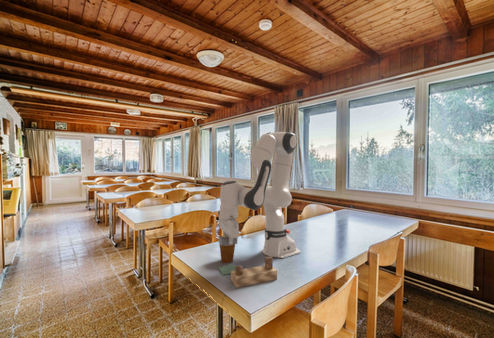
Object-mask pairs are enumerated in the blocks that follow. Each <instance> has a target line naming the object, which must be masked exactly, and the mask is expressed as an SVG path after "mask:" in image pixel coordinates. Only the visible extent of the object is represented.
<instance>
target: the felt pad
mask: <svg viewBox="0 0 494 338" xmlns="http://www.w3.org/2000/svg"><path fill="white" fill-rule="evenodd" d="M235 267H236V266H235V264H229V265H223V266H218V268H217V269H218V270H219V273H221V275H222V276H227V275H231V271H235Z"/></svg>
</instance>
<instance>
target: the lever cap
mask: <svg viewBox="0 0 494 338" xmlns="http://www.w3.org/2000/svg"><path fill="white" fill-rule="evenodd" d="M228 240H229V236H224V235H222V236H218V244H219V243H220V244H219V246H220V245H221V246H223V245H232V244H235V245H238V238H233V243H232V244H229V243H228Z"/></svg>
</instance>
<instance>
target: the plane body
mask: <svg viewBox="0 0 494 338" xmlns="http://www.w3.org/2000/svg"><path fill="white" fill-rule="evenodd" d="M273 263H274V260H273V257H271V256H265V257H264V265H259V266H253V267H247V268H243V265H236V266H235V271H231V274H230V278H229V282H230V283H231V285H232V286H233V287H234V288H235V289H236V288H240V287H241V288H242V287H247V286H251V285H255V284H256V285H257V284H259V283H265V282H270V281H274V280H278V270H277V269H276V268H275V267H274V266H273Z"/></svg>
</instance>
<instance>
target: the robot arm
mask: <svg viewBox="0 0 494 338" xmlns="http://www.w3.org/2000/svg"><path fill="white" fill-rule="evenodd" d="M297 145H298V138H297V135H296V134H295V133H293V132H291V131H287V132H286V131H277V132H266V133H263V134H262V135H261V136H260V138H259V139H258V140H257V142H256V144H255V146H254V147H253V149H252V152H251V154H250V162H251V164H252V165H253V166H254V167H255V168H256V169H257V174H256V177H255V178H256V179H255V181H254V184H253V186H252V187H247V186H246V187H245V186H244V185H241V184H240V183H238V182H237V181H236V180H228V181H225V182H223V183H221V186H220V193H219V196H220V197H219V201H220V207H219V210H218V211H217V215H218V225H219V228H220V230H221V231H222V232H223V236H229V240H228V243H229V244H232V243H233V238H237V239H239V237H240V228H239V227H240V225H239V221H238V220H237V219H238V217H239V215H238V214H239V206H242V207H244V208H248V209H249V210H251V211H257V210H259V209H260V208H261V207H263V210H264V214H265V228H264V244H263V248H262V254H264V255H265V256H266V257H269V256H271V257H272V258H273V257H274V258H278V259H284V258H288V257H292V256H294V255H295V256H296V255H298V254H299V255H300V253H301V251H300V249H299V248H298V247H297V245H296V241H295V240H294V239H293V238H292V237H290V236H289V234H290V233H291V231H290V230H289V229H286V228H285V215H284V213H283V210H282V208H283V209H284V208H288V206H290V205H291V203H292V201H293V196H292V194H291V192H290V186H289V185H290V184H289V183H290V182H289V181H290V175H291V169H292V167H293V166H292V165H293V155H294V154H293V153H294V150H295V149H296V148H297ZM274 153H275V156H274ZM273 156H274V159H273V162H272V158H273ZM271 162H272V163H271ZM270 178H271V186H268V183H269V179H270Z"/></svg>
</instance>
